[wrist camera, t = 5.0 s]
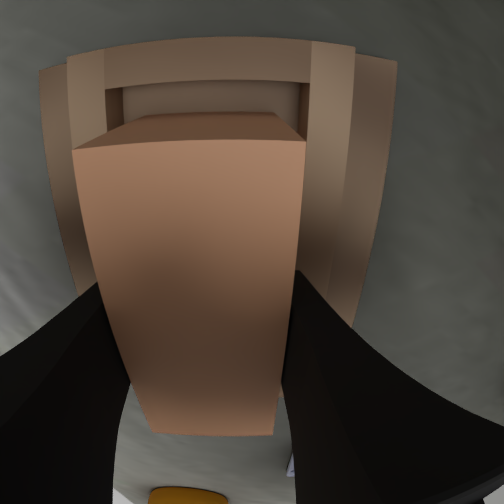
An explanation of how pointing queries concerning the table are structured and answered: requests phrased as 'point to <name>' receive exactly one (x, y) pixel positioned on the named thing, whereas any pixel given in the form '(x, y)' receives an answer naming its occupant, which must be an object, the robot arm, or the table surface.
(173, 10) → the table surface
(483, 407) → the table surface
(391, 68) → the cradle jig
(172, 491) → the yellow bottle
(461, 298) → the table surface
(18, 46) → the table surface
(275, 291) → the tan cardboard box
